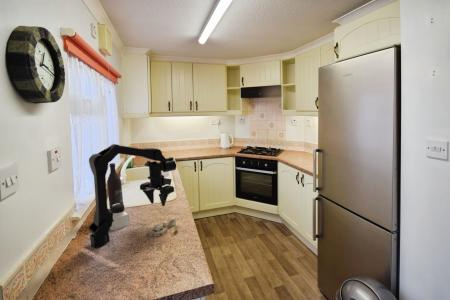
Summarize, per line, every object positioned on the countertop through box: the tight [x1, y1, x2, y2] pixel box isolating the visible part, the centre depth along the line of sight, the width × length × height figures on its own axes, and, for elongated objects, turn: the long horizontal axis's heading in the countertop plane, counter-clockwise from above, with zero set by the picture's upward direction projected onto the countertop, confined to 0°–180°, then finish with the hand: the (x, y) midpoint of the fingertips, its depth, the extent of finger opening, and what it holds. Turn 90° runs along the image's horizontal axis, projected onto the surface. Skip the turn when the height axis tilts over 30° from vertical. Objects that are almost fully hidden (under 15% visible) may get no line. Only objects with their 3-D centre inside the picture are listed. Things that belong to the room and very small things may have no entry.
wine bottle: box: [106, 162, 124, 211], centre depth 143 cm, size 7×7×30 cm
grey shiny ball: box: [153, 224, 162, 232], centre depth 121 cm, size 3×3×3 cm
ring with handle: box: [147, 217, 177, 238], centre depth 124 cm, size 15×9×3 cm, turn 145°
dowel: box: [173, 223, 179, 233], centre depth 121 cm, size 2×2×3 cm
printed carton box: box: [109, 203, 130, 231], centre depth 130 cm, size 7×7×12 cm
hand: (158, 204), depth 130 cm, fingers open, 8 cm apart
